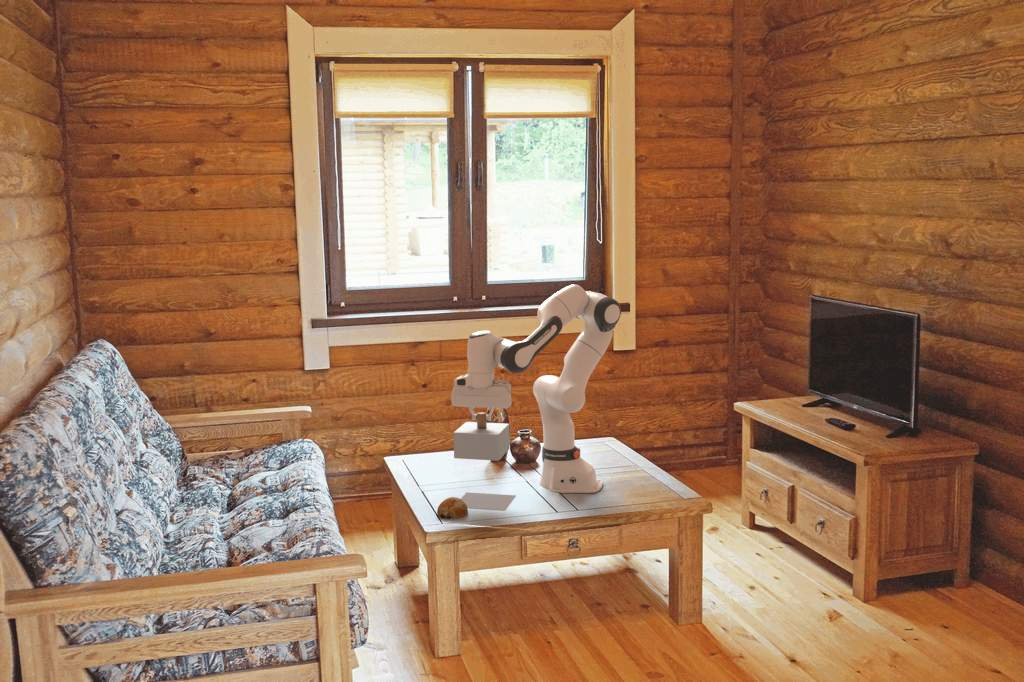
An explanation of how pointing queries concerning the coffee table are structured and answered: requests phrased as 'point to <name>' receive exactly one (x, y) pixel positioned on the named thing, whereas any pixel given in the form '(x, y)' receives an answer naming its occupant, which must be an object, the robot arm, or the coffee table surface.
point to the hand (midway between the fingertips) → (481, 419)
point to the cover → (481, 440)
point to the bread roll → (452, 508)
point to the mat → (487, 501)
